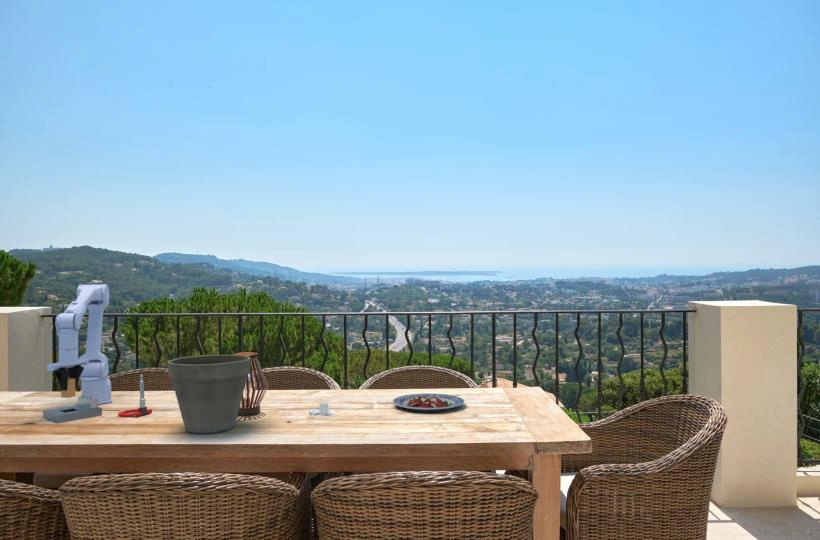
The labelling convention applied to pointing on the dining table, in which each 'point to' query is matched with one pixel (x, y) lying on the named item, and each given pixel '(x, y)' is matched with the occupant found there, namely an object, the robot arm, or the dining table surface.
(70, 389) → the tan rectangular block
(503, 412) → the dining table surface
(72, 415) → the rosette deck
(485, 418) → the dining table surface
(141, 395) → the tow hook
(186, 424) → the plant pot
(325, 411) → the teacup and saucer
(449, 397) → the ceramic plate
